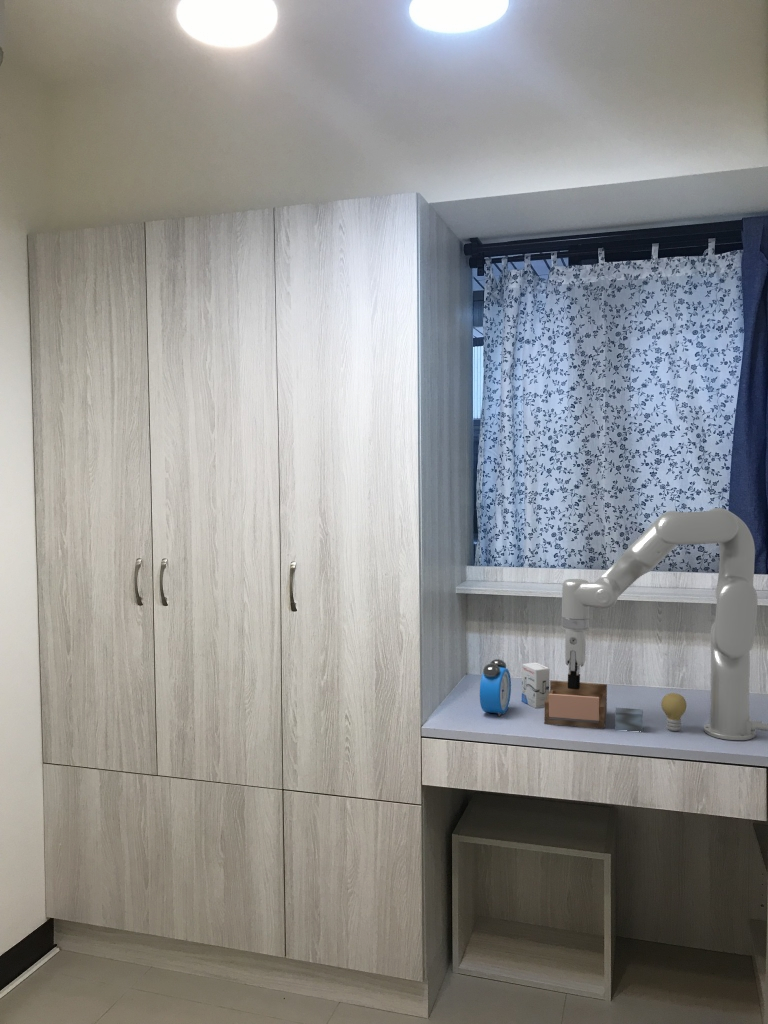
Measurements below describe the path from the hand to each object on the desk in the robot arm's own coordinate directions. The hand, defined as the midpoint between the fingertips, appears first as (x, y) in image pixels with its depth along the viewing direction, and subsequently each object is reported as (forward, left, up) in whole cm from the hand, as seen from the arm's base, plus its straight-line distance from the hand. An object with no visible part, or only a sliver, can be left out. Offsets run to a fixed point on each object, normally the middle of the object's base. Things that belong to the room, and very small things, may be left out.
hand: (573, 688), depth 233 cm
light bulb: (-27, +2, -9) cm, 28 cm away
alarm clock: (+22, -1, -9) cm, 24 cm away
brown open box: (-1, -2, -9) cm, 9 cm away
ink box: (+12, -13, -9) cm, 21 cm away
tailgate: (-1, +6, -7) cm, 9 cm away
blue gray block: (-15, +4, -9) cm, 18 cm away
